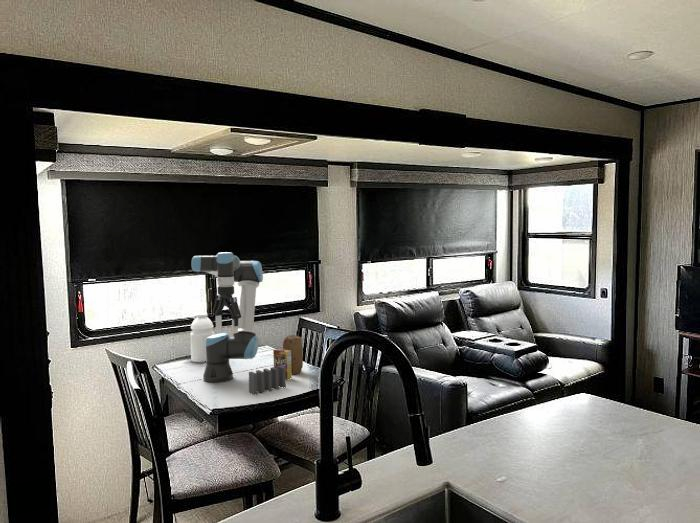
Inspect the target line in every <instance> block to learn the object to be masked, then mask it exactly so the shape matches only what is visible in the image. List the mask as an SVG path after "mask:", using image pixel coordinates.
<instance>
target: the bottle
mask: <svg viewBox="0 0 700 523" xmlns="http://www.w3.org/2000/svg"><path fill="white" fill-rule="evenodd" d="M208 315H209V314H208V312H197V313H195V317H196V318H195V319H193V321H192V323H191V325H190V329H191V332H189V333H190V334H189V336H190V360H191V362H193V363H206V362H205V361H206V339H207V338H208V337H209V336H211V335H215V331H214V330H213V328H214V327H215V326H214V323H213V322H212V320H211V319H210V318H209V317H208Z"/></svg>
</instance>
